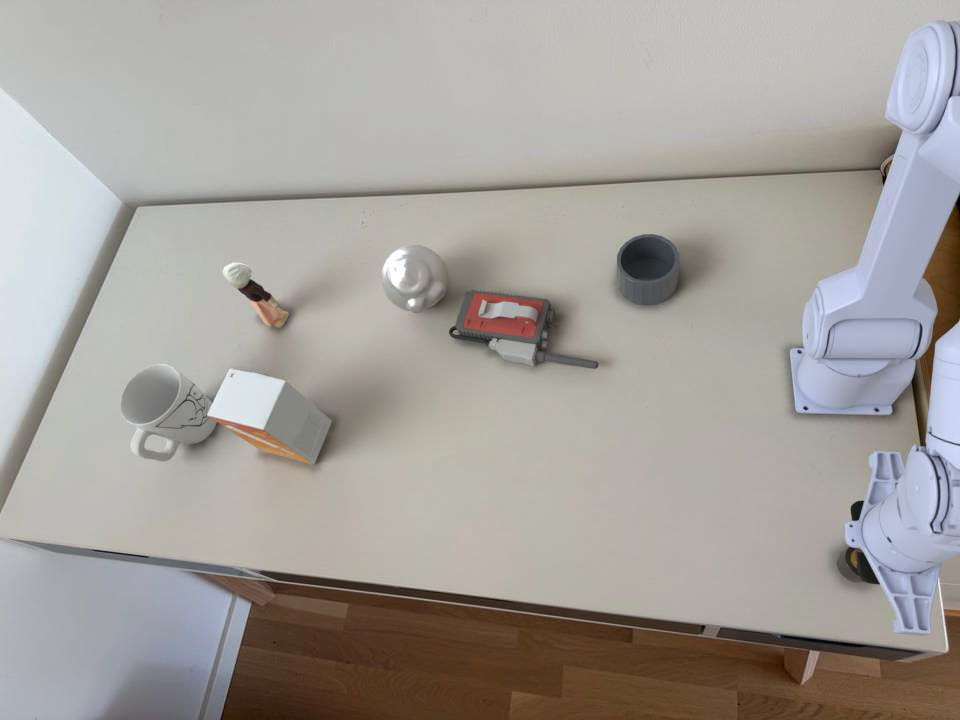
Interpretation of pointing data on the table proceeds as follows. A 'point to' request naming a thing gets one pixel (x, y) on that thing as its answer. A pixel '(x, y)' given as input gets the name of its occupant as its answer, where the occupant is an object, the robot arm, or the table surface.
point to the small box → (270, 415)
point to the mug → (165, 410)
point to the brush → (849, 564)
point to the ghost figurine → (414, 278)
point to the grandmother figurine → (255, 294)
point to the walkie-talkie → (511, 327)
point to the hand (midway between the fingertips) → (867, 557)
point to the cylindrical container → (647, 269)
